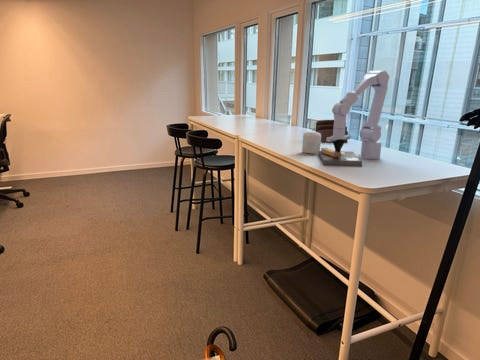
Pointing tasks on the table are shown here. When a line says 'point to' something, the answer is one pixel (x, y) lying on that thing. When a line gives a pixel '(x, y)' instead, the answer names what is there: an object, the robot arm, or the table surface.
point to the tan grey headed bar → (331, 152)
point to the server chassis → (341, 159)
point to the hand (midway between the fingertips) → (337, 154)
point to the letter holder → (327, 129)
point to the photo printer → (311, 142)
